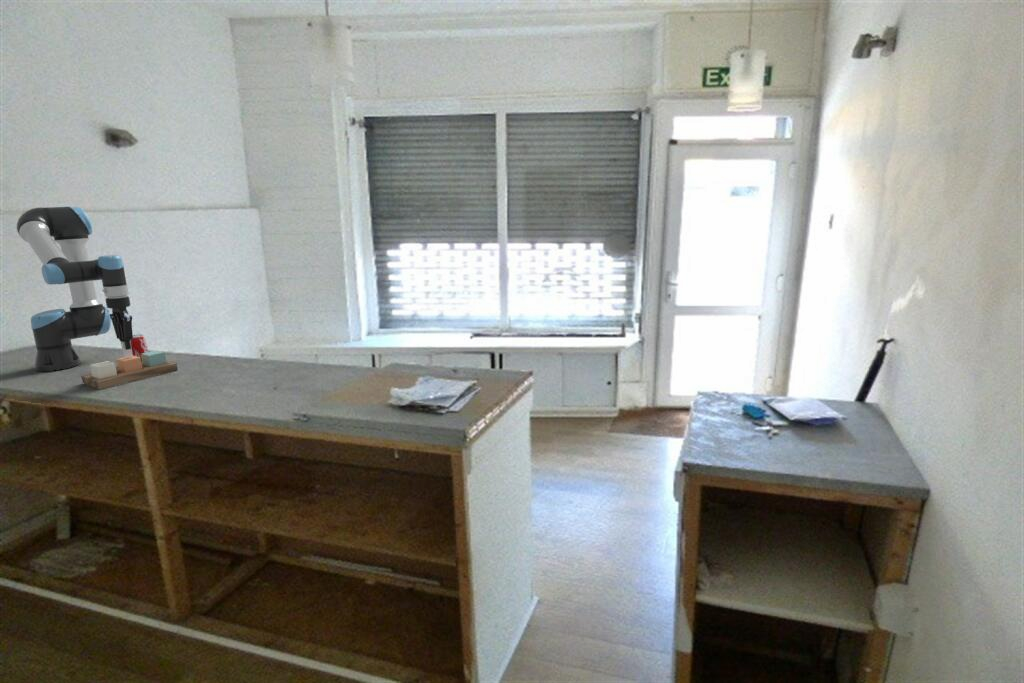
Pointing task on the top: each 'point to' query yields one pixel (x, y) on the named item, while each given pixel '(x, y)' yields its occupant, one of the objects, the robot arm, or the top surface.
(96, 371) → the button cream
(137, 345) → the soda can
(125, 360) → the orange cube
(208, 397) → the top surface
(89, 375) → the board
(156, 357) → the teal cube
